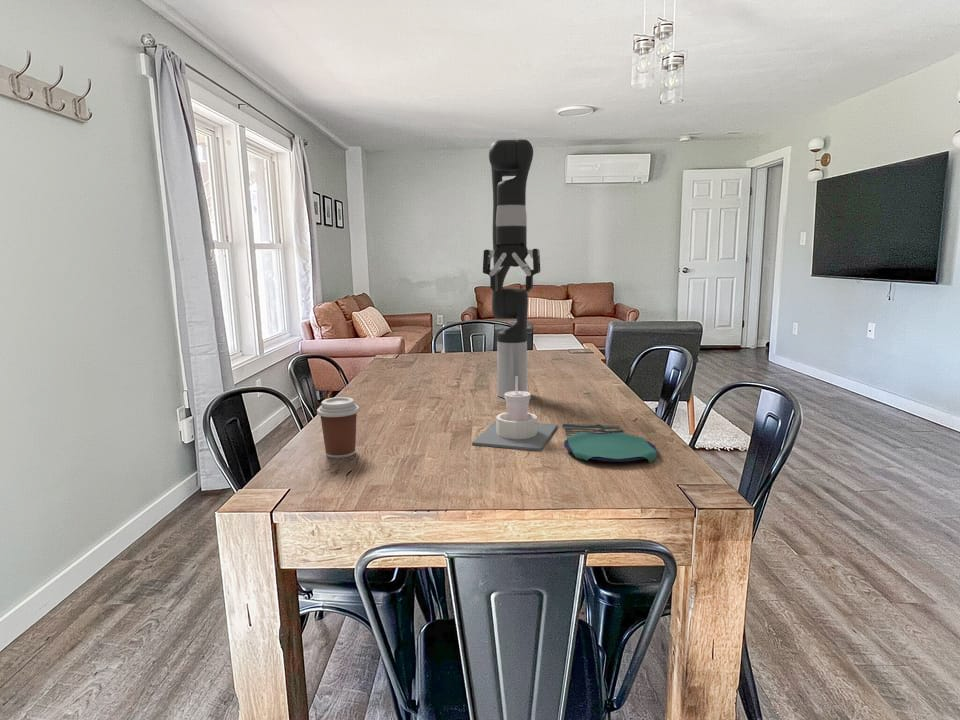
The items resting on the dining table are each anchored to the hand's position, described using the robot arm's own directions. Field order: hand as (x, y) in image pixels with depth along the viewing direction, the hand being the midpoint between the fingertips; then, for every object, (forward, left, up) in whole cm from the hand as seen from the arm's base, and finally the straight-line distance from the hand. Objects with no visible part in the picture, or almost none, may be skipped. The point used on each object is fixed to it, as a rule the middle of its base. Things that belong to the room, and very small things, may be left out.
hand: (511, 291), depth 145 cm
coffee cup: (+34, -30, -34) cm, 57 cm away
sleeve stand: (+10, +4, -34) cm, 36 cm away
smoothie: (+10, +4, -34) cm, 35 cm away
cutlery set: (+11, +25, -35) cm, 44 cm away
